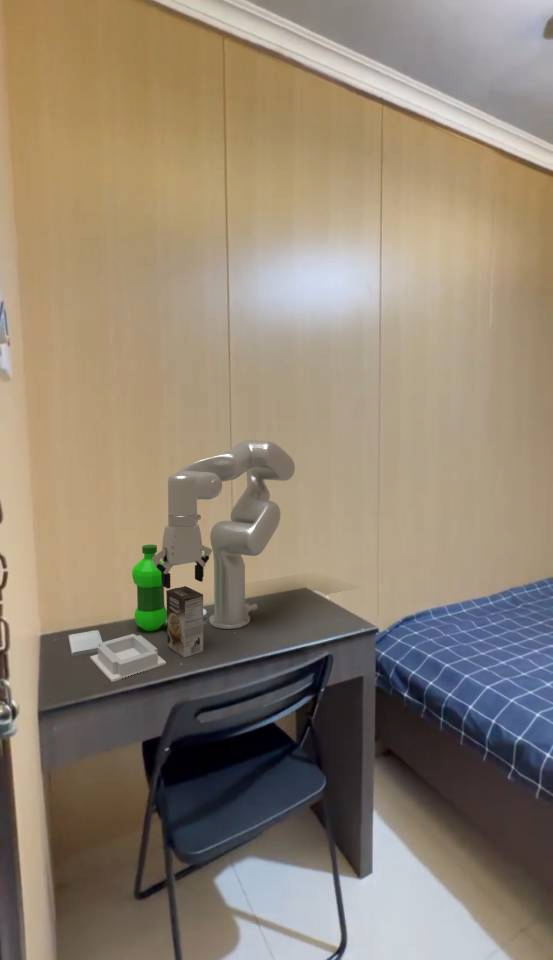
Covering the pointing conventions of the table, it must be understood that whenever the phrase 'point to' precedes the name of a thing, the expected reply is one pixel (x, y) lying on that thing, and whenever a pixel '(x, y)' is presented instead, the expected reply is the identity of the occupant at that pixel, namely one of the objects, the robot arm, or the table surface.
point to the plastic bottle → (149, 592)
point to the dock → (126, 657)
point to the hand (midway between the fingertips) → (183, 583)
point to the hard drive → (84, 642)
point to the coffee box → (185, 621)
